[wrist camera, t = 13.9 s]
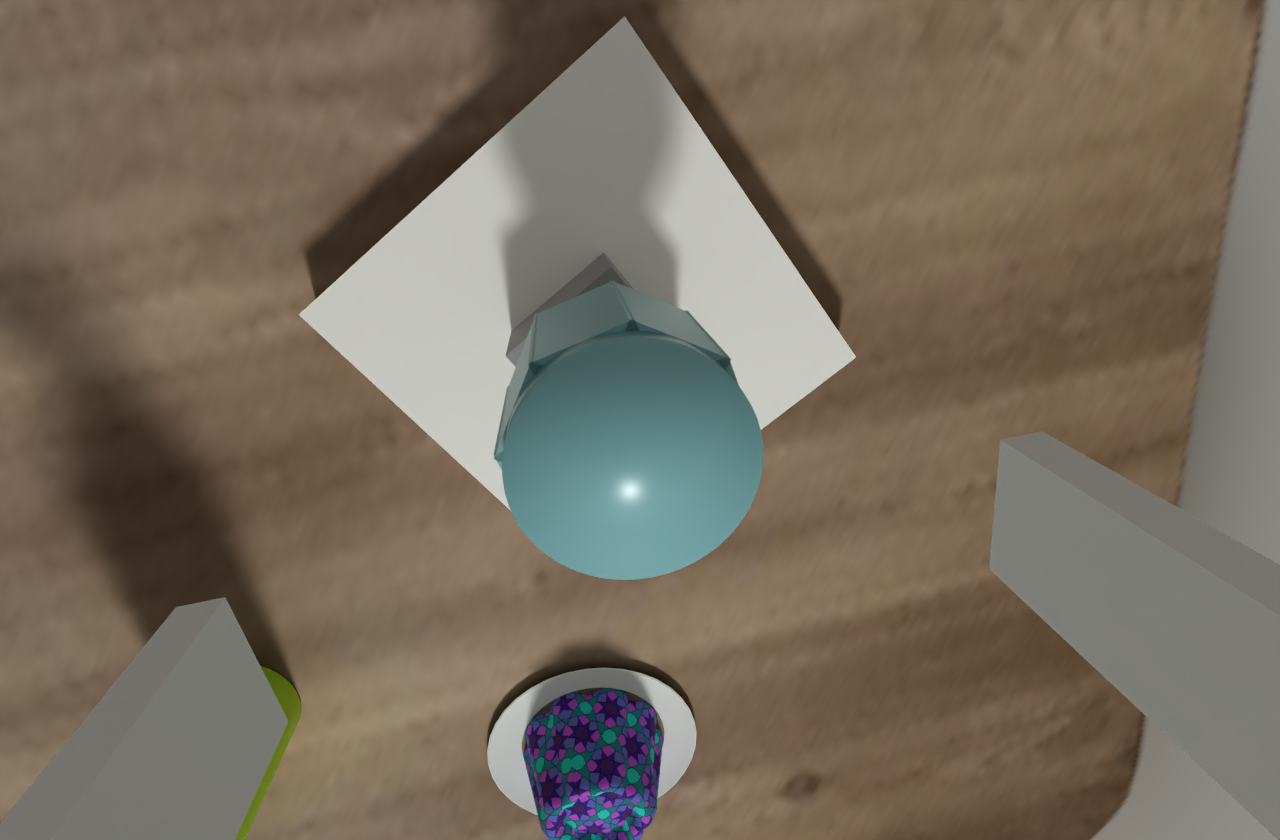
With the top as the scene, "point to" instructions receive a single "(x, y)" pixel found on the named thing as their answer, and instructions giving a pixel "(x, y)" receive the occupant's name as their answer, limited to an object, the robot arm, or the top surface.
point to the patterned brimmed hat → (592, 753)
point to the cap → (626, 437)
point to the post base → (573, 256)
